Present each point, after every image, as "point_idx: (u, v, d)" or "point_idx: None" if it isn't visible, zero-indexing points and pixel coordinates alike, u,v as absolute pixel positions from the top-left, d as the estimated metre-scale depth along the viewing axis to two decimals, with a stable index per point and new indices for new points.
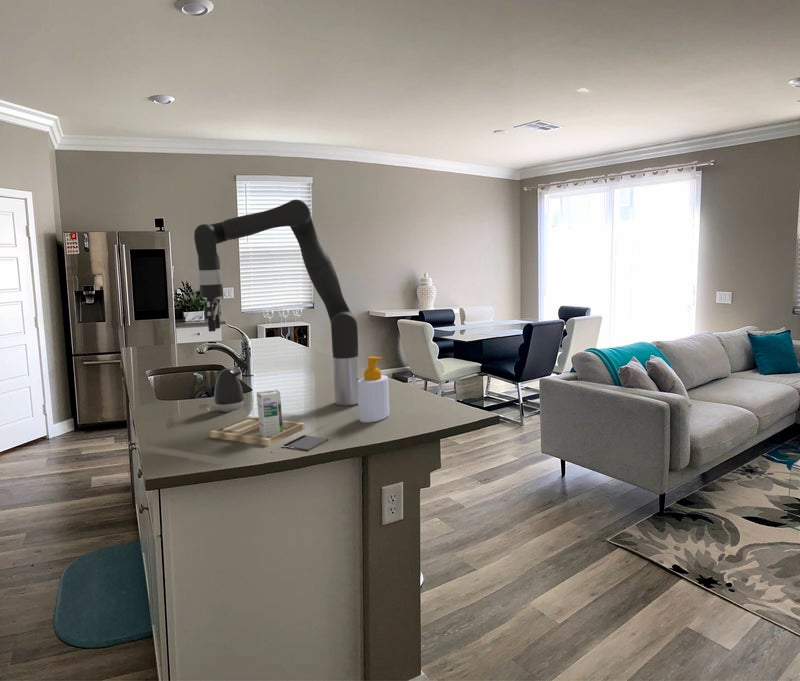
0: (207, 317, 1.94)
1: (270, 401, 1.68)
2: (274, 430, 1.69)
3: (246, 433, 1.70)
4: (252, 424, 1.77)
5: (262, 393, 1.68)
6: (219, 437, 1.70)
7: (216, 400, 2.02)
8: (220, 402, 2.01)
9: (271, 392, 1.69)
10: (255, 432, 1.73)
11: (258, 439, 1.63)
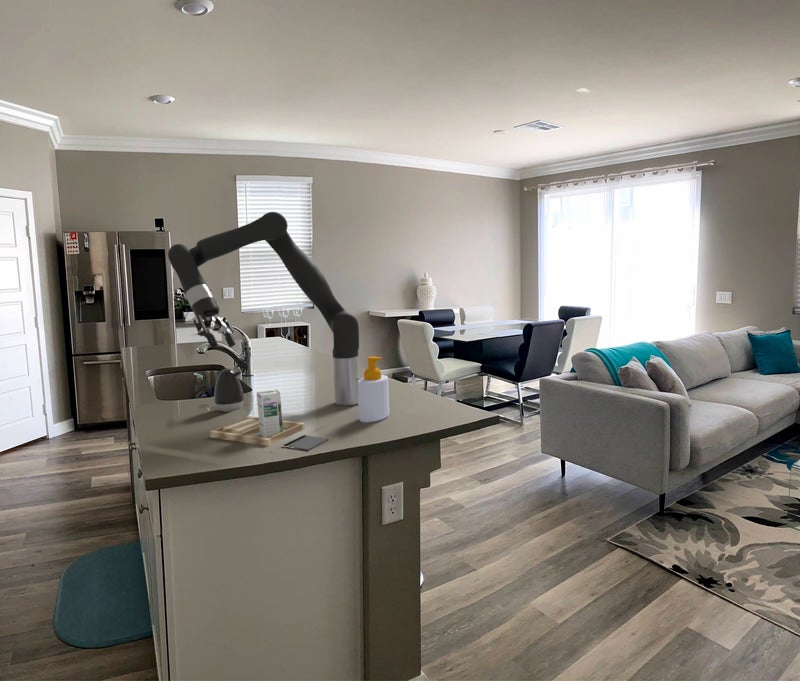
0: (200, 333, 1.75)
1: (270, 401, 1.68)
2: (274, 430, 1.69)
3: (246, 433, 1.70)
4: (253, 423, 1.77)
5: (262, 393, 1.68)
6: (219, 437, 1.70)
7: (216, 400, 2.02)
8: (220, 402, 2.01)
9: (271, 392, 1.69)
10: (255, 432, 1.73)
11: (258, 439, 1.63)
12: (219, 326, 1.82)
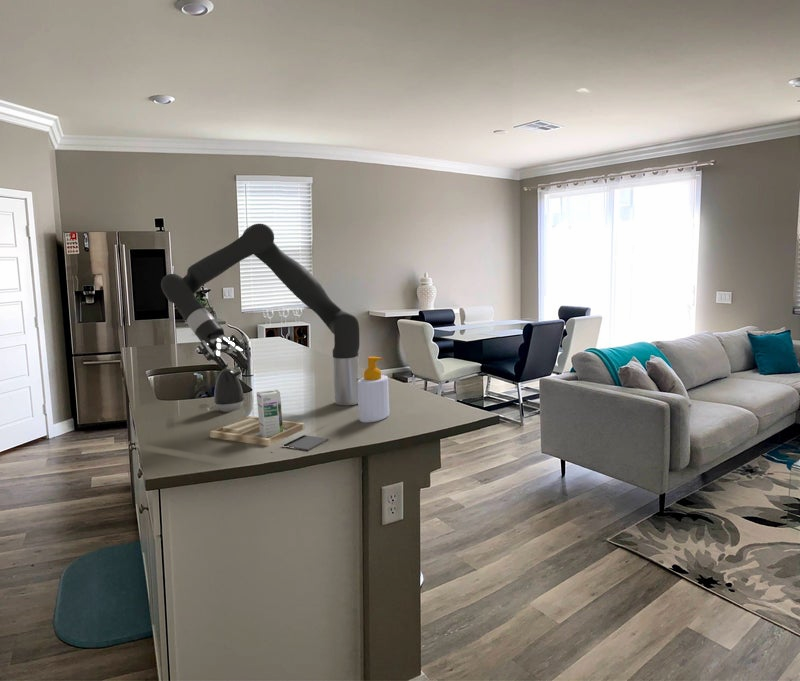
0: (208, 358, 1.70)
1: (270, 401, 1.68)
2: (274, 430, 1.69)
3: (246, 433, 1.70)
4: (252, 423, 1.77)
5: (262, 393, 1.68)
6: (219, 437, 1.70)
7: (216, 400, 2.02)
8: (220, 402, 2.01)
9: (271, 392, 1.69)
10: (255, 432, 1.73)
11: (258, 439, 1.63)
12: (227, 346, 1.76)
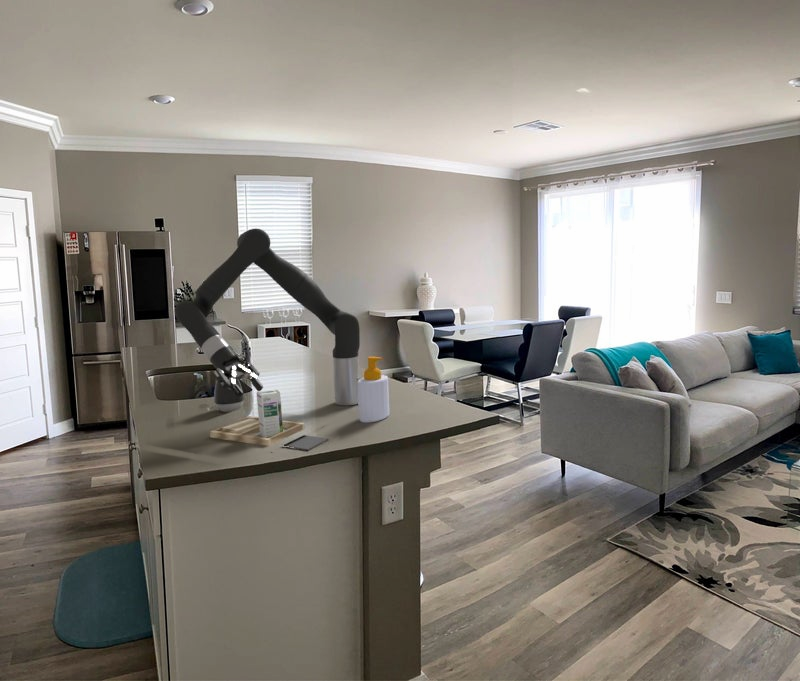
0: (223, 386, 1.68)
1: (270, 401, 1.68)
2: (274, 430, 1.69)
3: (246, 433, 1.70)
4: (252, 423, 1.77)
5: (262, 393, 1.68)
6: (219, 437, 1.70)
7: (216, 400, 2.02)
8: (220, 402, 2.01)
9: (271, 392, 1.69)
10: (255, 432, 1.73)
11: (258, 439, 1.63)
12: (242, 373, 1.75)
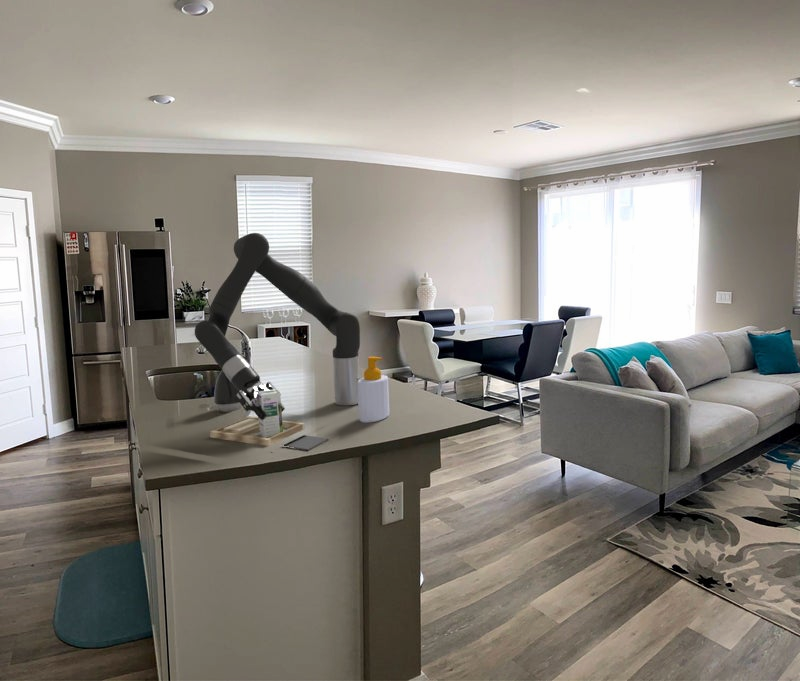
0: (246, 408, 1.66)
1: (270, 401, 1.68)
2: (274, 430, 1.69)
3: (246, 433, 1.70)
4: (253, 423, 1.77)
5: (262, 393, 1.68)
6: (219, 437, 1.70)
7: (216, 400, 2.02)
8: (220, 402, 2.01)
9: (271, 392, 1.69)
10: (255, 432, 1.73)
11: (258, 439, 1.63)
12: None
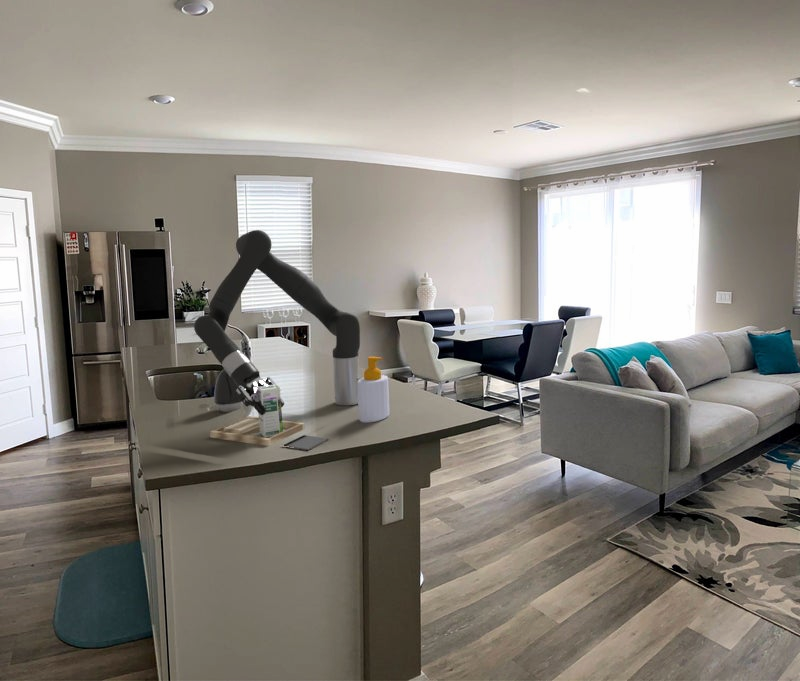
0: (246, 404, 1.66)
1: (270, 396, 1.68)
2: (274, 425, 1.69)
3: (246, 433, 1.70)
4: (253, 423, 1.77)
5: (262, 388, 1.68)
6: (219, 437, 1.70)
7: (216, 400, 2.02)
8: (220, 402, 2.01)
9: (271, 387, 1.69)
10: (255, 432, 1.73)
11: (258, 439, 1.63)
12: None
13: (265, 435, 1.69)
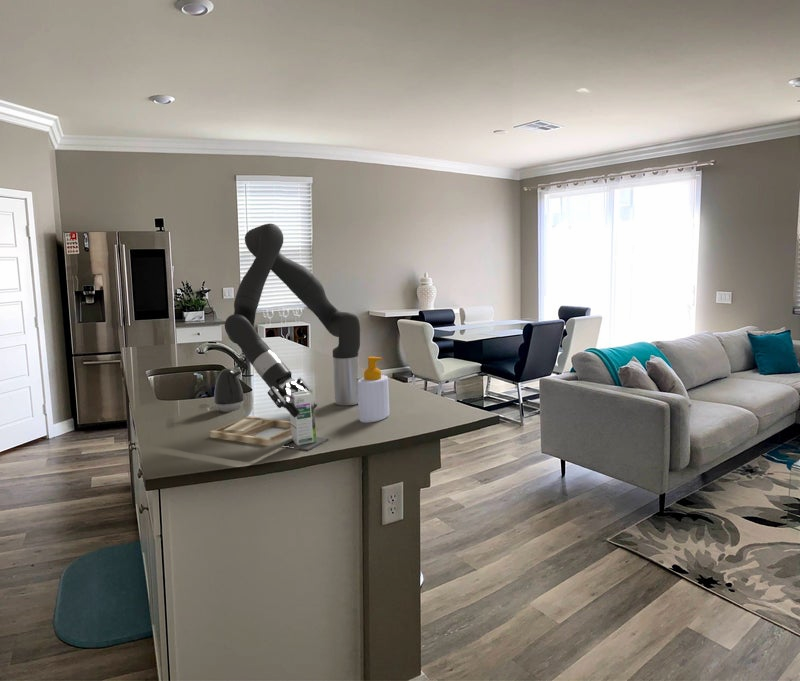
0: (278, 405, 1.60)
1: (303, 402, 1.63)
2: (307, 432, 1.64)
3: (246, 433, 1.70)
4: (252, 423, 1.77)
5: (295, 394, 1.63)
6: (219, 437, 1.70)
7: (216, 400, 2.02)
8: (220, 402, 2.01)
9: (304, 393, 1.64)
10: (255, 432, 1.73)
11: (258, 439, 1.63)
12: (296, 391, 1.67)
13: (298, 442, 1.63)
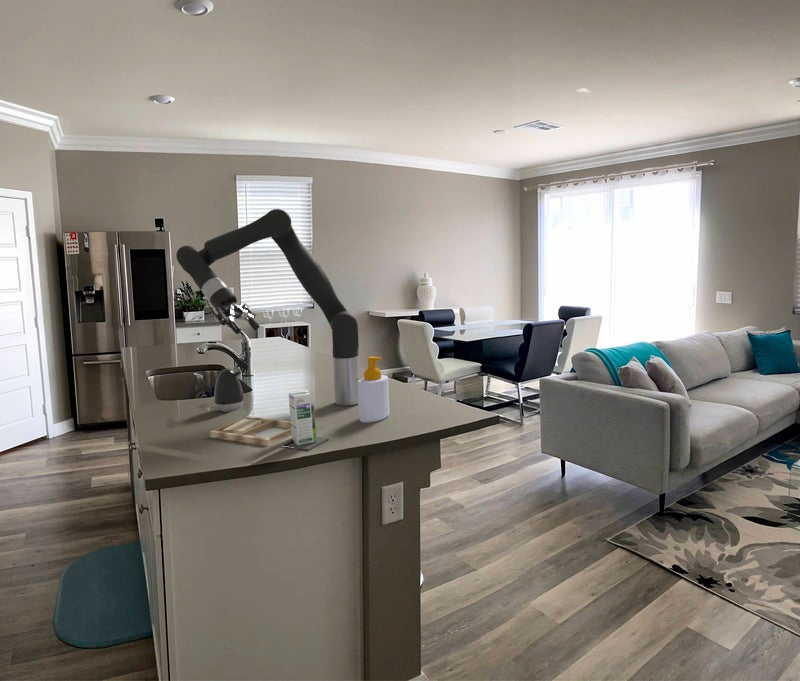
0: (222, 323, 1.80)
1: (303, 402, 1.63)
2: (307, 432, 1.64)
3: (246, 433, 1.70)
4: (251, 423, 1.77)
5: (295, 394, 1.63)
6: (219, 437, 1.70)
7: (216, 400, 2.02)
8: (220, 402, 2.01)
9: (304, 393, 1.64)
10: (255, 432, 1.73)
11: (258, 439, 1.63)
12: (239, 313, 1.87)
13: (298, 442, 1.63)
